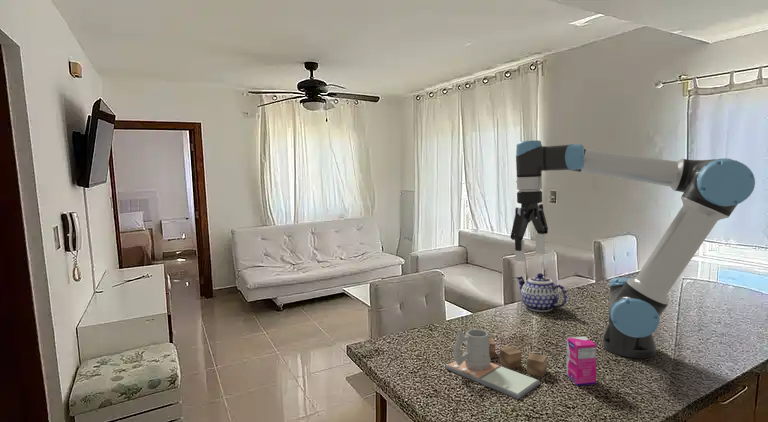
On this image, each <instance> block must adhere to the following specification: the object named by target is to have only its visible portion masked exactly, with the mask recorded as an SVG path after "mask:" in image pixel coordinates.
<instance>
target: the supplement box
mask: <svg viewBox="0 0 768 422" xmlns="http://www.w3.org/2000/svg"><path fill="white" fill-rule="evenodd" d="M566 376H567V377H568V378H569V380H571V381H572V382H573V384H575V385H576V386H577V387H578V386H585V385H586V386H591V385H597V344H596V342H594V341H592V340H591V339H590V338H588V337H586V336H576V337H573V336H572V337H566Z"/></svg>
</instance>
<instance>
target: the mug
mask: <svg viewBox="0 0 768 422" xmlns="http://www.w3.org/2000/svg"><path fill="white" fill-rule="evenodd" d="M465 334H466V335H465ZM465 334H464V332H463V331H462V329H460V328H457V336H456V339H455V340H456V341H455V343H454V345H453V349H452V352H453V359H454V361H456V362H457V365H459V366H460V365H461V364H462V363H463V361H465V362H466V366H467V367H468V368H470V369H472V370H483V369H484V370H486V369H488V368H489V367H490V363H492V362H491V361H492V360H491V357H489V347H490V342H489V337H490V336H489V332H487V330H485V329H479V328H478V329H477V328H474V329H469V330H467V332H466V333H465ZM464 341H465V342H464ZM463 343H464V344H465V353H463V354H461V346H462V345H463Z"/></svg>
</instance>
